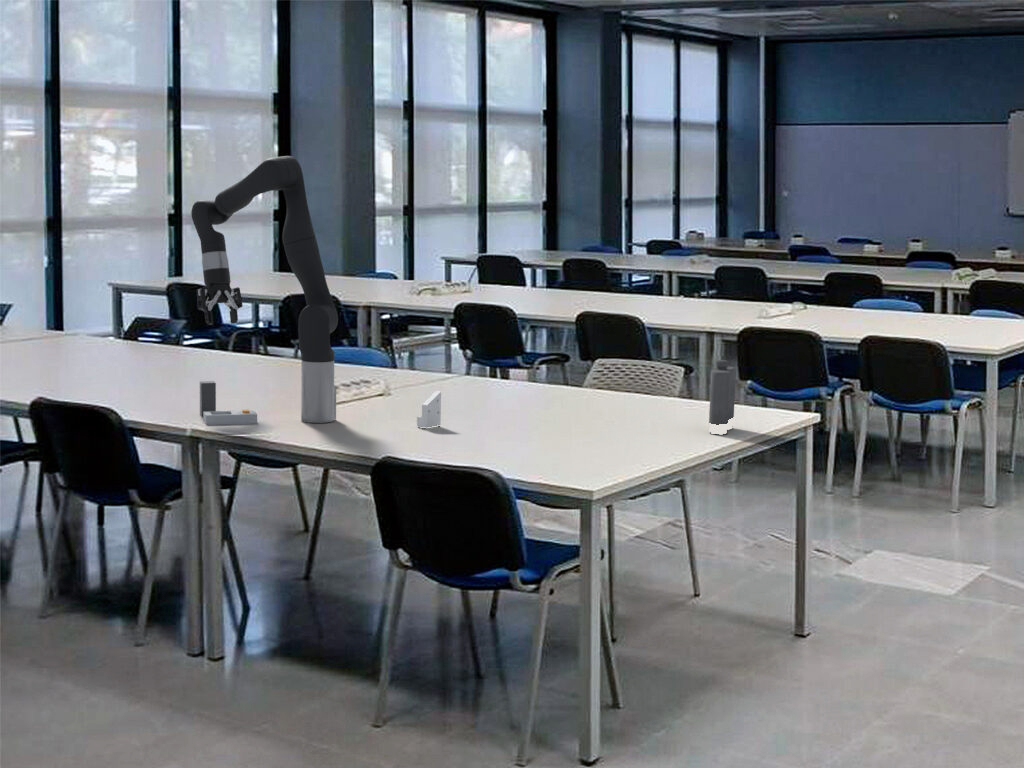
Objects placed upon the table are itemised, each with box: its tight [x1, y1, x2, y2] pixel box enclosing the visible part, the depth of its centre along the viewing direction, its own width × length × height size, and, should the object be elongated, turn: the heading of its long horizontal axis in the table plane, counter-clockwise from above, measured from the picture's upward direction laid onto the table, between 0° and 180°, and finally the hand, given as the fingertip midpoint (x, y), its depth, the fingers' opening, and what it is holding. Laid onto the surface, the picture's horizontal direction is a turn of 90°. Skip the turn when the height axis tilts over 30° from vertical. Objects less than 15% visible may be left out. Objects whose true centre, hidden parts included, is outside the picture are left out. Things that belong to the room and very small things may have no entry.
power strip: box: [202, 409, 258, 426], centre depth 421 cm, size 14×7×4 cm, turn 107°
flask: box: [708, 359, 737, 425], centre depth 427 cm, size 15×6×20 cm, turn 162°
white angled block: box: [416, 390, 442, 428], centre depth 423 cm, size 4×10×9 cm
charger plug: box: [199, 380, 217, 418], centre depth 431 cm, size 4×4×10 cm
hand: (222, 323), depth 442 cm, fingers open, 8 cm apart
